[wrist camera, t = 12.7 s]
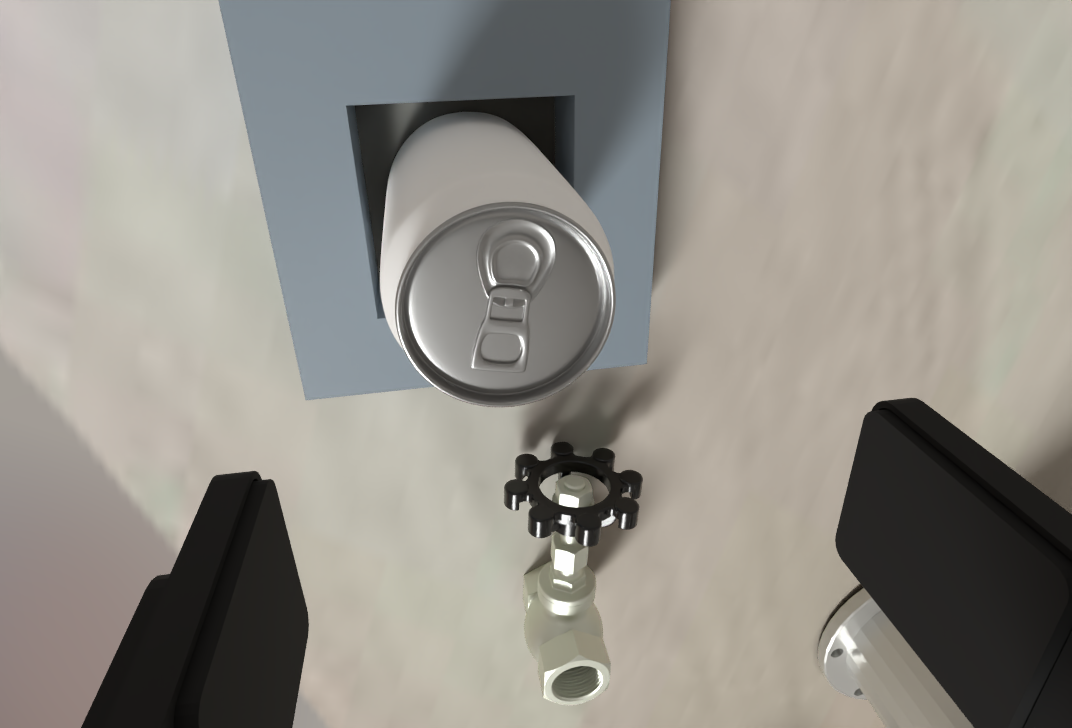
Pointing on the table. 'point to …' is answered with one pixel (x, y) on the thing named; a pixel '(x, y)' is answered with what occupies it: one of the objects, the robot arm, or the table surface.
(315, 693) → the table surface
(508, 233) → the can
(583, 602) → the valve
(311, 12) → the socket block
